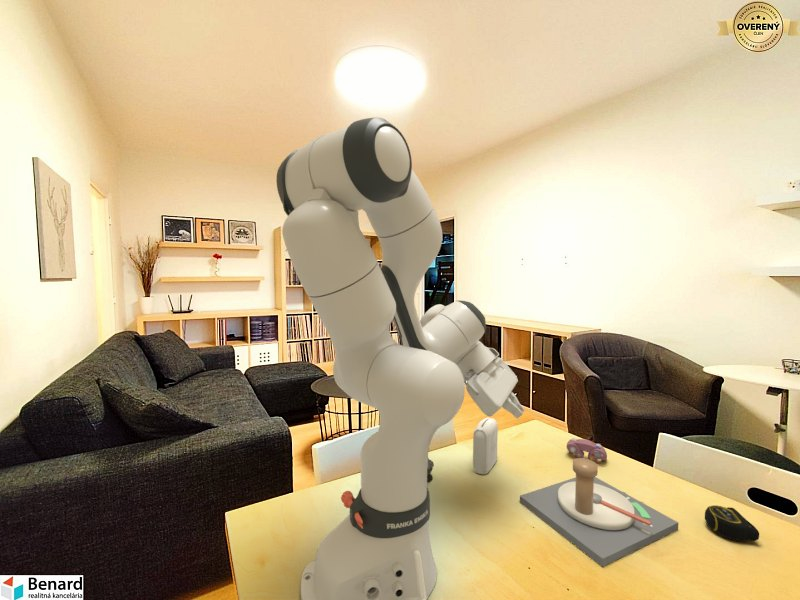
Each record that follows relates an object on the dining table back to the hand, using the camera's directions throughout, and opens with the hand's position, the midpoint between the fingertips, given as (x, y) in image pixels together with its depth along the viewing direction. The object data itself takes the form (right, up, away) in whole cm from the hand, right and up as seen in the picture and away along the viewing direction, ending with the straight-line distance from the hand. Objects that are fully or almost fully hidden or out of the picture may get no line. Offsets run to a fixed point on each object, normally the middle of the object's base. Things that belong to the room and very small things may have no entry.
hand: (521, 414), depth 78 cm
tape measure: (+39, -21, -7) cm, 45 cm away
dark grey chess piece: (-21, -20, +13) cm, 31 cm away
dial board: (+15, -21, -2) cm, 25 cm away
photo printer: (-3, -20, +18) cm, 27 cm away
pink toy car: (+25, -19, +22) cm, 39 cm away
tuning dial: (+16, -19, -3) cm, 25 cm away
